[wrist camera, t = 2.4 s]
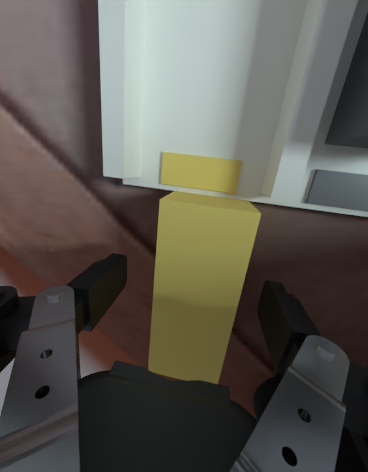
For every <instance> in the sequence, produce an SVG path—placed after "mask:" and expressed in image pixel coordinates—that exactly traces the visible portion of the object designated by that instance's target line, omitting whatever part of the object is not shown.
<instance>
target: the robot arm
mask: <svg viewBox="0 0 368 472" xmlns="http://www.w3.org/2000/svg"><path fill="white" fill-rule="evenodd" d="M126 280H127V257H126V255H122V254H116V253H112V254H111V255H110V256H109V257H107V258H106V259H105V260H100V261H98V262H95V263H93V264H92V265H91V266H90V267H88V269H86V270H85V271H83V273H81V274H80V275H78V276H77V277H76V278H74V279H73V280H72V281H71V282H69V283H68V284H67V285H66V286H65V285H59V286H53V287H49V288H47V289H45V290H43V291H41V292H40V293H39V294H38V295H37V296H29V297H18V294H17V290H16V288H14V287H11V286H0V372H1V371H2V370H3V369H4V368H5V367H6V366H7V365H8V364H9V363H10V362H11V361H12V360H13V359H14V358H15V360H14V364H13V368H12V372H11V376H10V380H9V383H8V387H7V391H6V396H5V400H4V403H3V407H2V411H1V416H0V472H334V471H335V466H336V460H337V455H338V449H339V444H340V439H341V433H342V428H343V426H344V427H346V428H348V430H349V432H350V434H351V436H352V439H353V441H354V443H355V445H356V447H357V449H358V451H359V454H360V456H361V458H362V460H363V462H364V464H365V467H366V469H367V471H368V369H366V368H364V367H361V366H359V365H357V364H354V363H352V362H350V361H349V359H348V357H347V355H346V354H345V352H344V351H343V350H342V349H341V348H340V347H338V346H337V345H336V344H335V343H333V342H331V341H330V340H328V339H326V338H324V337H322V336H321V335H320V333H319V332H318V330H317V328H316V327H315V325H314V324H313V322H312V321H311V319H310V317H309V316H308V314H307V313H306V311H305V310H304V308H303V306H302V305H301V303H300V302H299V301H298V300H297V299H296V298H295V297H294V296H293V295H292V294H288V293H287V291H286V290H285V288H284V286H283V284H282V283H278V282H273V281H266V282H265V284H264V287H263V290H262V293H261V297H260V300H259V303H258V317H259V320H260V324H261V327H262V330H263V334H264V337H265V341H266V344H267V347H268V351H269V354H270V358H271V361H272V364H273V368H274V371H275V373H277V374H282V375H284V376H283V378H282V380H281V382H280V384H279V385H278V387H277V389H276V391H275V393H274V395H273V396H272V398H271V400H270V402H269V404H268V405H267V407H266V409H265V411H264V413H263V414H262V416H261V418H260V420H259V422H257V421H256V419H255V418H254V417H253V416H252V415H251V414H250V413H249V412H248V411H247V410H246V409H244V408H243V407H242V406H241V405H239V404H238V403H236V402H235V401H233V400H232V399H230V394H229V387H227V386H223V385H219V384H214V383H210V382H206V381H201V380H191V381H168V380H165V379H164V378H162V377H160V376H158V375H156V374H155V373H153V372H151V371H149V370H147V369H145V368H144V367H141V366H137V365H133V364H128V363H124V362H120V361H115V362H114V364H113V366H112V368H111V370H107V371H101V372H97V373H93V374H90V375H88V376H85V377H83V378H81V376H80V359H79V342H78V334H79V333H80V331H81V330H86V331H90V332H91V331H92V330H93V328H94V327H95V326H96V325H97V323H98V322H99V321H100V319H101V318H102V317H103V315H104V314H105V313H106V311H107V310H108V309H109V307H110V306H111V305H112V303H113V302H114V301H115V299H116V298H117V297H118V295H119V294H120V293H121V291H122V290H123V288H124V287H125V284H126Z"/></svg>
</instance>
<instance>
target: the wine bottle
mask: <svg viewBox="0 0 368 472" xmlns="http://www.w3.org/2000/svg"><path fill="white" fill-rule="evenodd" d="M283 376H284V375H282V374H281V375H278V376H276V377H274V378H271V379H269V380H267V381H266V382H265V383H263V384H262V385H261V386H260V387H259V388H258V390H257V392H256V394H255V396H254V409H255V415H256V421H257V422H259V420H260V418H261V416H262V414H263V413H264V411H265V409H266V407H267V405H268V404H269V402H270V400H271V398H272V396H273V395H274V393H275V391H276V389H277V387H278V385H279V384H280V382H281V380H282V378H283ZM334 472H368V471H367V469H366V467H365V464H364V462H363V460H362V458H361V456H360V454H359V451H358V449H357V447H356V445H355V443H354V441H353V439H352V436H351V434H350V432H349V430H348V428H346V427H344V426H343V428H342V433H341V439H340V444H339V449H338V455H337V460H336V466H335V471H334Z"/></svg>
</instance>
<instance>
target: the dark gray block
mask: <svg viewBox="0 0 368 472" xmlns="http://www.w3.org/2000/svg"><path fill="white" fill-rule="evenodd" d="M325 144H328V145H338V146H348V147H358V148H368V12H367V15H366V19H365V22H364V25H363V28H362V31H361V34H360V37H359V40H358V43H357V46H356V49H355V52H354V55H353V58H352V61H351V64H350V67H349V70H348V73H347V76H346V80H345V83H344V86H343V89H342V92H341V95H340V98H339V101H338V104H337V107H336V110H335V113H334V116H333V119H332V122H331V125H330V128H329V131H328V134H327V138H326V141H325Z"/></svg>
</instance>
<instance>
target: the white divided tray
mask: <svg viewBox="0 0 368 472" xmlns="http://www.w3.org/2000/svg"><path fill="white" fill-rule="evenodd" d="M98 12H99V45H100V79H101V112H102V146H103V176H106V177H114V178H122V179H123V184H128V185H135V186H142V187H150V188H157V189H165V190H172V191H179V192H187V193H194V194H201V195H209V196H216V197H224V198H231V199H238V200H246V201H253V202H260V203H268V204H275V205H283V206H290V207H297V208H305V209H312V210H319V211H327V212H334V213H342V214H349V215H356V216H364V217H368V148H358V147H348V146H338V145H328V144H325V141H326V138H327V134H328V131H329V128H330V125H331V122H332V119H333V116H334V113H335V110H336V107H337V104H338V101H339V98H340V95H341V92H342V89H343V86H344V83H345V80H346V76H347V73H348V70H349V67H350V64H351V61H352V58H353V55H354V52H355V49H356V46H357V43H358V40H359V37H360V34H361V31H362V28H363V25H364V22H365V19H366V15H367V12H368V0H98Z"/></svg>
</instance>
